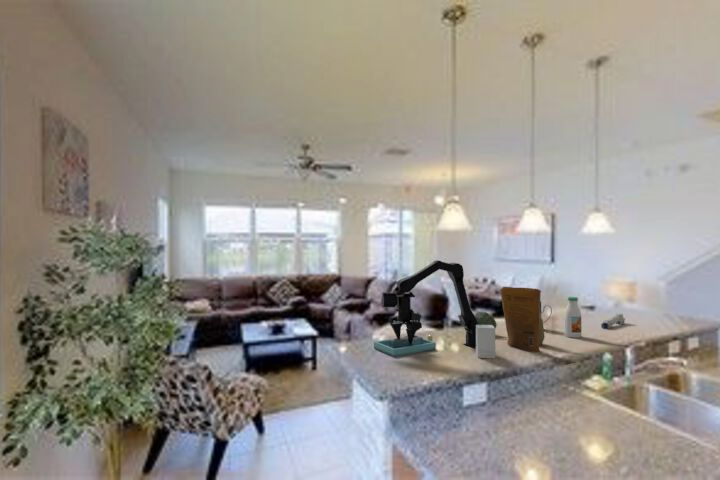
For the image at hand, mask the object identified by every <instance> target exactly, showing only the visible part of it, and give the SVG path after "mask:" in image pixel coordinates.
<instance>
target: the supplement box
mask: <svg viewBox="0 0 720 480" xmlns="http://www.w3.org/2000/svg"><path fill="white" fill-rule="evenodd" d="M475 354H476V357H477V358H479V359H481V358H482V359H486V358H487V359H496V329H495V328H494V326H493V325H476V347H475Z"/></svg>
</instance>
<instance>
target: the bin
mask: <svg viewBox="0 0 720 480" xmlns="http://www.w3.org/2000/svg"><path fill="white" fill-rule="evenodd" d="M403 337H404V336H403ZM403 337H401V338H403ZM390 339H391V338H390ZM390 339H384V340H377V341H373V349H374V348H375V350H376V351H379V352H382V353H385V354H387V355H389V356H391V357H393V356H395V357H400V356H404V355H405V354H406V355H410V354H411V355H412V354H418V353H424V352H428V351H434V350H437V349H436V342H434V341H433V340H432V341H429V340H428V339H425V338H423V344H420V345H414V346H408V347H402V348H396V349H393V348H391V347H389V340H390ZM394 339H397V337H396V338H394ZM406 355H405V356H406Z"/></svg>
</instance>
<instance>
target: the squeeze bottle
mask: <svg viewBox="0 0 720 480" xmlns="http://www.w3.org/2000/svg"><path fill="white" fill-rule="evenodd" d="M540 317H541V314H540ZM543 322H544V320H543V319H541V318H540V322H539V337H538V339H539V346H541V345H543V343H544V340H545V338H546V336H545V329H544V323H543Z"/></svg>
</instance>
